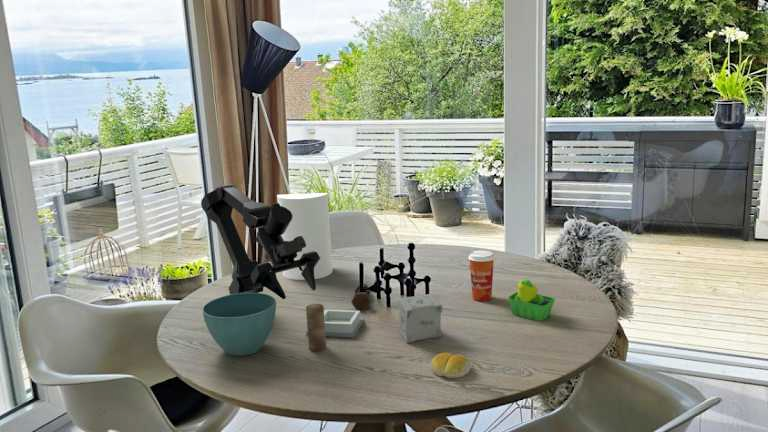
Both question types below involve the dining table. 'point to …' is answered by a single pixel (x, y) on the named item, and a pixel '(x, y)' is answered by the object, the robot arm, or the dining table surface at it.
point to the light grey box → (419, 317)
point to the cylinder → (309, 230)
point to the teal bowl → (240, 321)
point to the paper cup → (481, 275)
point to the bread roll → (450, 365)
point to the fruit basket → (530, 302)
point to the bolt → (361, 298)
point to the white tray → (341, 323)
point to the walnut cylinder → (316, 327)
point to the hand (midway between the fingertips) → (300, 293)
